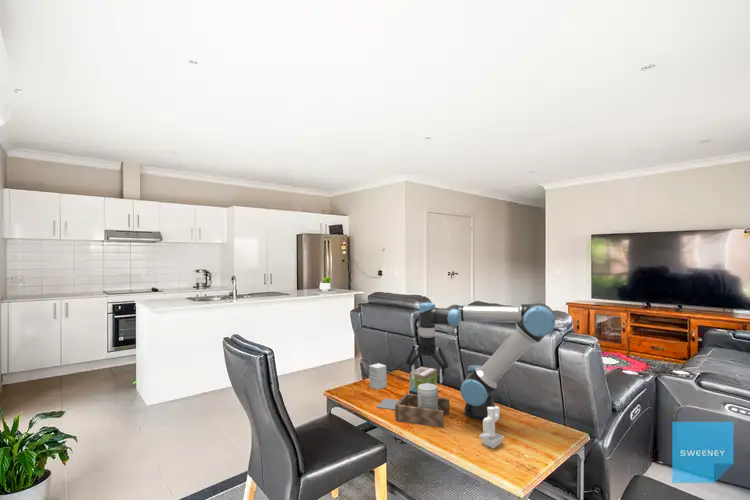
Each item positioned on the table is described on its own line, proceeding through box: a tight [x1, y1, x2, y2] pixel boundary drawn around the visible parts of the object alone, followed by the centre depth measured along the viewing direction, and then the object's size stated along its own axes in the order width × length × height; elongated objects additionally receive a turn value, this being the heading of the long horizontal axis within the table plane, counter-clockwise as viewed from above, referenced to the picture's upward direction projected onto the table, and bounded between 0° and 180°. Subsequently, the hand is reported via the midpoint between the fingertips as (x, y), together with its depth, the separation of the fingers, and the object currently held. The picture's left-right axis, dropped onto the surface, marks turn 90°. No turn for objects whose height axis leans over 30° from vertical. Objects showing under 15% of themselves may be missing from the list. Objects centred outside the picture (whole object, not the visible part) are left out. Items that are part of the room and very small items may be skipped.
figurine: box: [478, 405, 505, 449], centre depth 155 cm, size 7×9×15 cm
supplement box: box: [368, 362, 387, 391], centre depth 224 cm, size 7×7×13 cm
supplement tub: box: [418, 383, 439, 410], centre depth 181 cm, size 10×10×15 cm
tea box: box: [408, 366, 438, 395], centre depth 206 cm, size 15×10×15 cm, turn 148°
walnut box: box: [394, 393, 451, 429], centre depth 182 cm, size 22×17×7 cm
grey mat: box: [376, 398, 400, 411], centre depth 197 cm, size 12×12×1 cm
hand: (427, 380), depth 181 cm, fingers open, 13 cm apart
